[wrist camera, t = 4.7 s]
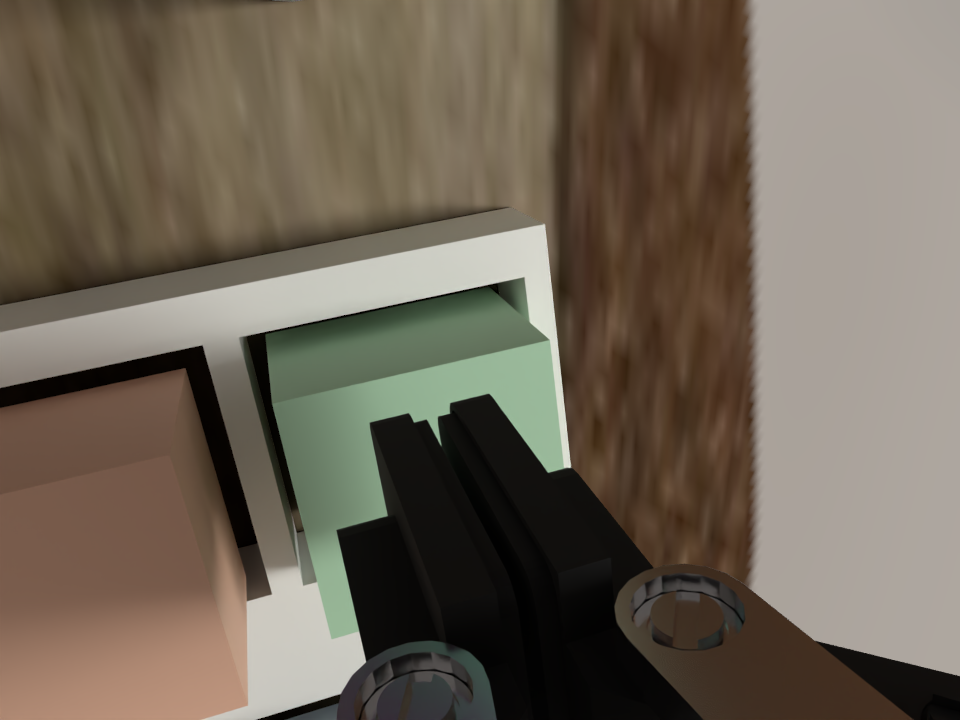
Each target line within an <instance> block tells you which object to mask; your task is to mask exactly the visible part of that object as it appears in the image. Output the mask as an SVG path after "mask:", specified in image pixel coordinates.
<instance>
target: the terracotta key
mask: <svg viewBox="0 0 960 720" xmlns="http://www.w3.org/2000/svg"><path fill="white" fill-rule="evenodd" d="M245 706H248V671H247V593H246V575H245V571H244V568H243V564H242V561H241V557H240V554H239V550H238V547H237V544H236V540H235V537H234V533H233V530H232V526H231V523H230V520H229V516H228V513H227V509H226V506H225V502H224V499H223V495H222V492H221V489H220V485H219V482H218V478H217V475H216V471H215V468H214V464H213V461H212V458H211V454H210V451H209V447H208V444H207V440H206V437H205V434H204V430H203V427H202V423H201V420H200V416H199V413H198V409H197V406H196V403H195V399H194V396H193V392H192V389H191V385H190V382H189V379H188V375H187V372H186V368H183V369H179V370H174V371H169V372H165V373H160V374H155V375H151V376H146V377H142V378H137V379H132V380H128V381H123V382H118V383H114V384H109V385H105V386H100V387H95V388H91V389H86V390H81V391H77V392H72V393H68V394H63V395H58V396H54V397H49V398H44V399H40V400H35V401H30V402H26V403H21V404H17V405H12V406H7V407H3V408H0V720H202V719H205V718H209V717H212V716H215V715H219V714H222V713H225V712H228V711H232V710H235V709H238V708H242V707H245Z"/></svg>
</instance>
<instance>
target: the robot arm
mask: <svg viewBox="0 0 960 720" xmlns="http://www.w3.org/2000/svg"><path fill="white" fill-rule="evenodd" d="M438 428H439V434H440V441H441V445H440V443H439V441H438V439H437V437H436V435H435V434H434V432H433V430H432V428H431V426H430V424H429V422H428V421H427V419H426V420H422V421H418V422H414V421H413V419H412V417H411V415H410V414H409V413H407V414H403V415H399V416H394V417H390V418H386V419H382V420H378V421H374V422H370V431H371V437H372V442H373V447H374V451H375V456H376V461H377V466H378V471H379V476H380V481H381V486H382V491H383V496H384V501H385V505H386V510H387V515H388V516H386V517H382V518H378V519H374V520H371V521H367V522H363V523H360V524H356V525H352V526H348V527H345V528H341V529H337V530H336V531H337V536H338V540H339V544H340V549H341V553H342V558H343V562H344V567H345V571H346V575H347V580H348V584H349V589H350V593H351V598H352V602H353V606H354V611H355V615H356V620H357V624H358V628H359V633H360V637H361V642H362V646H363V651H364V655H365V659H366V663H365V664H364V665H363V666H361V667H360V668H359V669H358V670H357V671H356V672H355V673H354V674H353V675H352V676H351V678H350V679H349V681H348V683H347V684H346V686H345V688H344V689H343V691H342V692H341V696H340V701H339V705H338V709H337V720H960V676H957V675H953V674H949V673H944V672H941V671H936V670H932V669H928V668H924V667H920V666H916V665H912V664H908V663H904V662H900V661H895V660H891V659H887V658H883V657H879V656H874V655H871V654H867V653H863V652H859V651H854V650H850V649H846V648H842V647H838V646H834V645H830V644H825V643H821V642H818V641H814V640H813V639H812V638H811V637H809V636H808V635H807V634H806V633H804V632H803V631H802V630H800V629H799V628H798V627H797V626H796V625H794V624H793V623H792V622H791V621H789V620H788V619H787V618H786V617H784V616H783V615H782V614H781V613H779V612H778V611H777V610H776V609H774V608H773V607H771V606H770V605H769V604H768V603H767V602H766V601H764V600H763V599H762V598H761V597H759V596H758V595H757V594H756V593H754V592H753V591H752V590H751V589H749V588H748V587H747V586H746V585H744V584H743V583H741V582H740V581H738V580H736V579H735V578H733V577H732V576H730V575H728V574H727V573H724V572H721V571H718V570H715V569H712V568H709V567H706V566H698V565H690V564H675V565H663V566H660V567H656V568H653V567H652V565H651V564H650V563H649V562H648V560H647V559H646V558H645V557H644V555H643V554H642V553H641V552H640V550H639V549H638V548H637V547H636V545H635V544H634V543H633V542H632V540H631V539H630V538H629V537H628V535H627V534H626V533H625V532H624V530H623V529H622V528H621V527H620V525H619V524H618V523H617V522H616V520H615V519H614V518H613V517H612V516H611V514H610V513H609V512H608V511H607V509H606V508H605V507H604V506H603V504H602V503H601V502H600V501H599V499H598V498H597V497H596V496H595V494H594V493H593V492H592V491H591V489H590V488H589V487H588V486H587V484H586V483H585V482H584V481H583V479H582V478H581V477H580V476H579V474H578V473H577V472H576V471H575V470H574V469H572V468H564V469H560V470H557V471H553V472H549V473H548V472H547V470H546V469H545V468H544V466H543V465H542V464H541V462H540V461H539V459H538V458H537V457H536V455H535V454H534V453H533V451H532V450H531V449H530V447H529V446H528V445H527V443H526V442H525V440H524V439H523V438H522V436H521V435H520V434H519V432H518V431H517V430H516V428H515V427H514V426H513V424H512V423H511V421H510V420H509V419H508V417H507V416H506V415H505V413H504V412H503V411H502V409H501V408H500V407H499V405H498V404H497V402H496V401H495V400H494V398H493V397H492V396H491V395H490V394H485V395H481V396H477V397H473V398H468V399H464V400H460V401H456V402H452V403H450V414H446V415H442V416H438Z"/></svg>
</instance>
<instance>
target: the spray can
mask: <svg viewBox="0 0 960 720" xmlns="http://www.w3.org/2000/svg"><path fill="white" fill-rule="evenodd" d="M274 1H286V2H292V1H300V0H274Z"/></svg>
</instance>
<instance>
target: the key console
mask: <svg viewBox="0 0 960 720" xmlns="http://www.w3.org/2000/svg"><path fill="white" fill-rule="evenodd" d="M494 283H498V290H499V296H500V297H501V298H502V299H504V300H505V301H506V302H507V303H508V304H509V305H510V306H512V307H513V308H514V309H515V310H516V311H517V312H518V313H520V314H521V315H522V316H523V317H524V318H525V319H526V320H528V321H529V322H530V323H531V324H532V325H533V326H534V327H536V328H537V329H538V330H539V331H540V332H541V333H542V334H544V335H545V336H546V337H547V338H548V339H549V340H550V345H551V354H552V363H553V372H554V382H555V391H556V400H557V409H558V418H559V427H560V436H561V445H562V454H563V463H564V468H571V464H570V454H569V445H568V436H567V426H566V417H565V408H564V398H563V389H562V380H561V370H560V361H559V352H558V342H557V333H556V324H555V314H554V305H553V296H552V286H551V277H550V268H549V259H548V249H547V240H546V231H545V224H544V223H542V222H540V221H538V220H536V219H534V218H532V217H530V216H528V215H526V214H524V213H522V212H520V211H518V210H516V209H514V208H512V207H510V208H505V209H500V210H494V211H489V212H484V213H479V214H474V215H468V216H463V217H458V218H453V219H448V220H442V221H437V222H432V223H427V224H422V225H416V226H411V227H406V228H401V229H396V230H390V231H385V232H380V233H375V234H370V235H364V236H359V237H354V238H349V239H344V240H338V241H333V242H328V243H323V244H318V245H312V246H307V247H302V248H297V249H292V250H286V251H281V252H276V253H271V254H266V255H261V256H255V257H250V258H245V259H240V260H235V261H229V262H224V263H219V264H214V265H209V266H203V267H198V268H193V269H188V270H183V271H177V272H172V273H167V274H162V275H157V276H151V277H146V278H141V279H136V280H131V281H125V282H120V283H115V284H110V285H105V286H99V287H94V288H89V289H84V290H79V291H73V292H68V293H63V294H58V295H53V296H47V297H42V298H37V299H32V300H27V301H21V302H16V303H11V304H6V305H1V306H0V388H2V387H7V386H12V385H16V384H21V383H26V382H31V381H35V380H40V379H45V378H50V377H54V376H59V375H64V374H68V373H73V372H78V371H83V370H87V369H92V368H97V367H102V366H106V365H111V364H116V363H121V362H125V361H130V360H135V359H139V358H144V357H149V356H154V355H158V354H163V353H168V352H173V351H177V350H182V349H187V348H191V347H196V346H201V345H203V348H204V352H205V355H206V359H207V363H208V366H209V370H210V373H211V377H212V380H213V384H214V388H215V391H216V395H217V398H218V402H219V406H220V409H221V413H222V416H223V420H224V423H225V427H226V431H227V434H228V438H229V441H230V445H231V449H232V452H233V456H234V459H235V463H236V466H237V470H238V474H239V477H240V481H241V484H242V488H243V491H244V495H245V499H246V502H247V506H248V509H249V513H250V517H251V520H252V524H253V527H254V531H255V534H256V538H257V542H258V543H257V544H253V545H249V546H245V547H242V548H238V550H239V554H240V557H241V561H242V564H243V568H244V571H245V575H246V593H247V671H248V706H245V707H242V708H238V709H235V710H232V711H228V712H225V713H222V714H219V715H215V716H212V717H209V718H205V719H202V720H257V719H260V718H263V717H267V716H270V715H273V714H276V713H280V712H283V711H286V710H289V709H293V708H296V707H299V706H302V705H306V704H309V703H312V702H316V701H319V700H322V699H325V698H329V697H332V696H335V695H338V694H341V692H342V691H343V689H344V688H345V686H346V684H347V683H348V681H349V679H350V678H351V676H352V675H353V674H354V673H355V672H356V671H357V670H358V669H359V668H360V667H361V666H363V665H364V664H365V663H366V659H365V655H364V651H363V646H362V642H361V637H360V633H359V632H355V633H352V634H348V635H345V636H342V637H338V638H335V639H331V635H330V631H329V627H328V623H327V619H326V615H325V611H324V607H323V603H322V599H321V595H320V591H319V587H318V583H317V579H316V575H315V572H314V568H313V564H312V560H311V556H310V552H309V548H308V544H307V540H306V536H305V532H304V531H302V532H299V533H297V532H296V528H295V524H294V520H293V517H292V513H291V509H290V505H289V501H288V497H287V493H286V489H285V485H284V482H283V478H282V474H281V470H280V466H279V462H278V458H277V454H276V450H275V447H274V443H273V439H272V435H271V431H270V427H269V423H268V419H267V415H266V411H265V408H264V404H263V400H262V396H261V392H260V388H259V384H258V380H257V376H256V373H255V369H254V365H253V361H252V357H251V353H250V349H249V345H248V341H247V338H246V336H248V335H253V334H258V333H262V332H267V331H272V330H277V329H281V328H286V327H291V326H296V325H300V324H305V323H310V322H314V321H319V320H324V319H329V318H333V317H338V316H343V315H348V314H352V313H357V312H362V311H367V310H371V309H376V308H381V307H385V306H390V305H395V304H400V303H404V302H409V301H414V300H419V299H423V298H428V297H433V296H437V295H442V294H447V293H452V292H456V291H461V290H466V289H471V288H475V287H480V286H485V285H490V284H494Z"/></svg>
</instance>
